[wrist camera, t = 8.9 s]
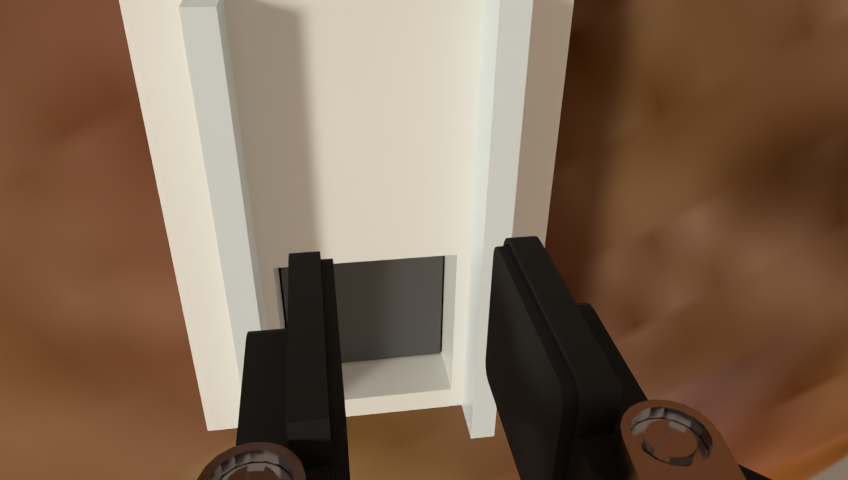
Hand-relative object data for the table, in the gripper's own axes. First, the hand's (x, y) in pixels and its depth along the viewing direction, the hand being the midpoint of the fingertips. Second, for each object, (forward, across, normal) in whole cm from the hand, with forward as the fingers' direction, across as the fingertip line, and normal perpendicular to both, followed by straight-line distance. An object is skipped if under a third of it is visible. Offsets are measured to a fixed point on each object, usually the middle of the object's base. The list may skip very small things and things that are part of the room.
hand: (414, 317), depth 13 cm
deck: (+15, 0, +1) cm, 15 cm away
